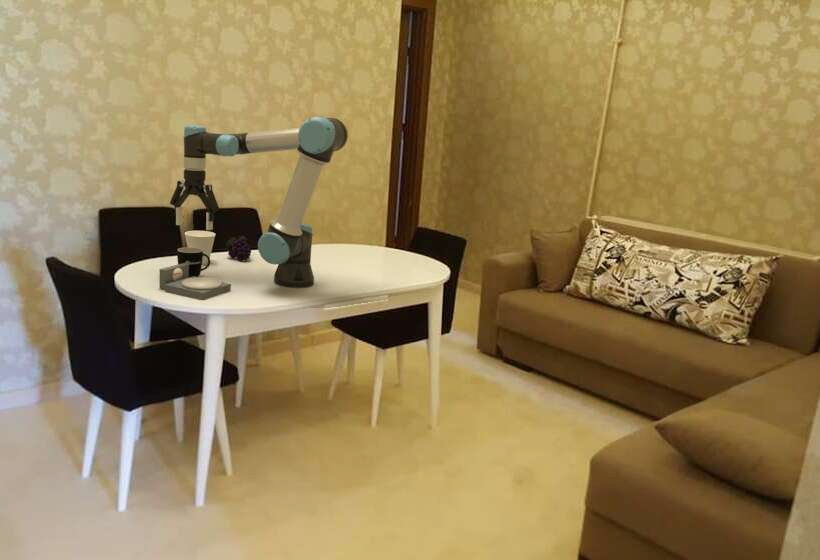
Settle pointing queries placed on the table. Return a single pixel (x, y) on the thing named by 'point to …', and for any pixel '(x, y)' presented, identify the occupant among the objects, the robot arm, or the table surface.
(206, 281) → the scale
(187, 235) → the cup
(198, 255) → the mug
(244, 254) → the fruit
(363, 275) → the table surface
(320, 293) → the table surface
